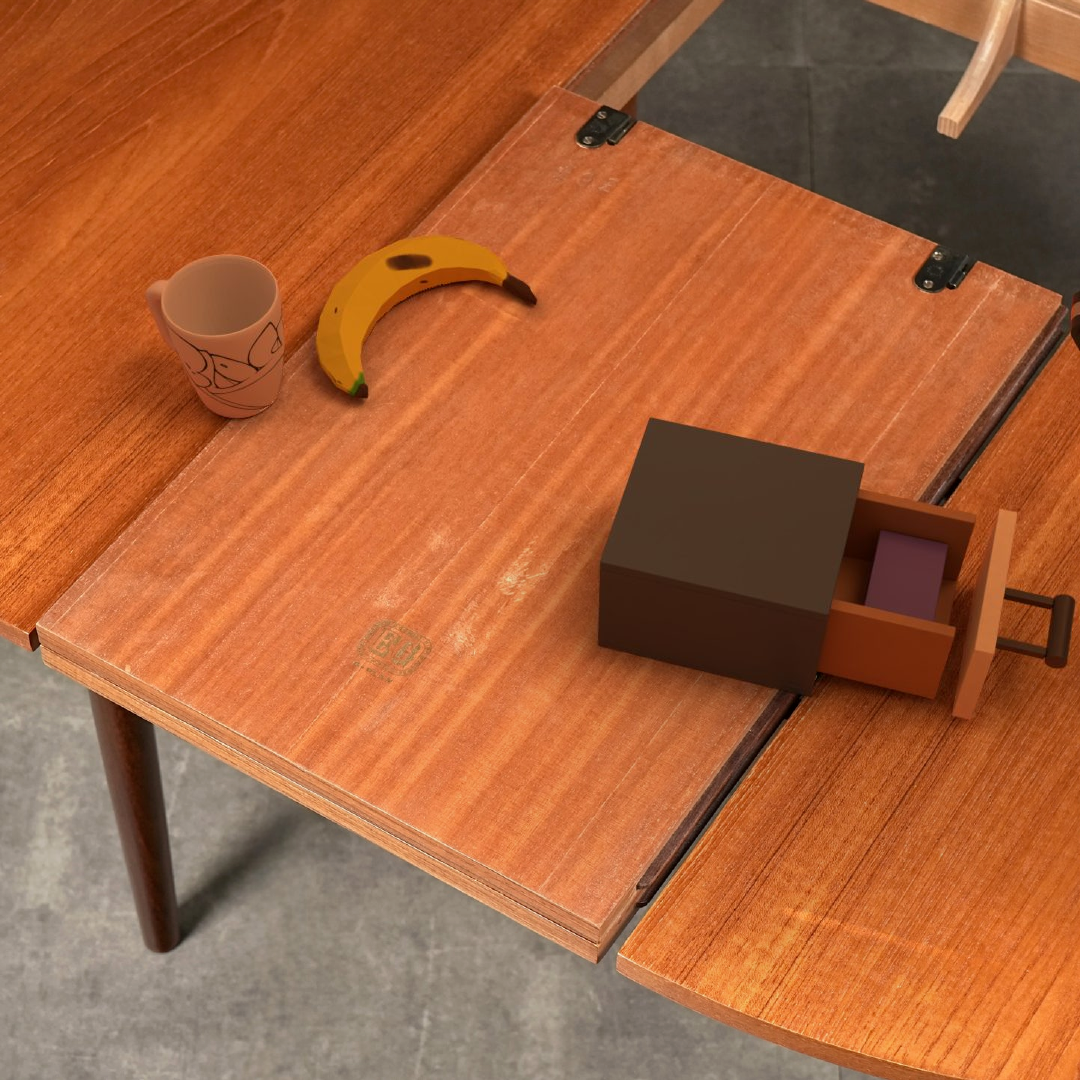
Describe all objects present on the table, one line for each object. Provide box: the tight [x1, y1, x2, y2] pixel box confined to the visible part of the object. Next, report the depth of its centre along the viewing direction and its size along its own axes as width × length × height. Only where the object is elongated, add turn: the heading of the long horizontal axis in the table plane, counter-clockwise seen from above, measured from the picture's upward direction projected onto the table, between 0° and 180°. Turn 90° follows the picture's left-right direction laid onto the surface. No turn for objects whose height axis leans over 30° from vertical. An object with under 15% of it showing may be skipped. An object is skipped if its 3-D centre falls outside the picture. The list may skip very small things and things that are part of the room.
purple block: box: [863, 530, 948, 622], centre depth 112 cm, size 4×8×4 cm, turn 164°
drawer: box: [817, 488, 1076, 720], centre depth 111 cm, size 18×11×8 cm, turn 73°
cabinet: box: [597, 416, 866, 698], centre depth 113 cm, size 15×13×10 cm
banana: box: [314, 233, 538, 400], centre depth 131 cm, size 5×17×15 cm
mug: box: [144, 253, 285, 419], centre depth 125 cm, size 11×8×10 cm
